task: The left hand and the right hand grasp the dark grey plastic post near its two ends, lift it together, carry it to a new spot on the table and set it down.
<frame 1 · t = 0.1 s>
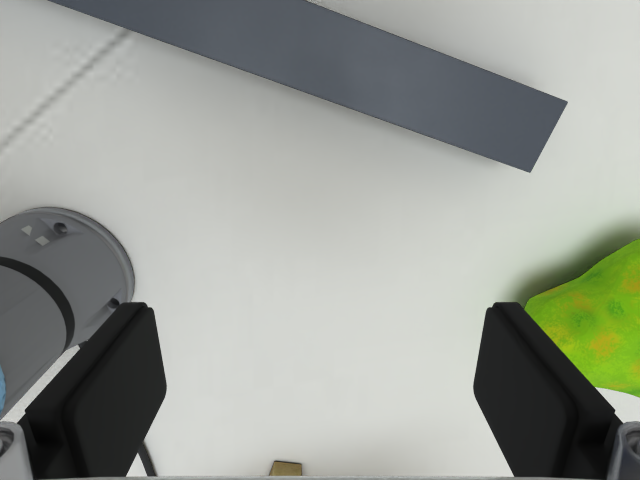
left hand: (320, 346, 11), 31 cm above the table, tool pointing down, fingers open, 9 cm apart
decorative tree: (632, 291, 46), on the table
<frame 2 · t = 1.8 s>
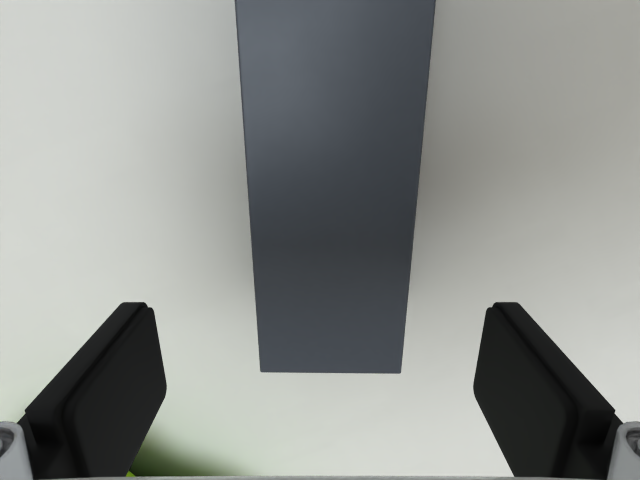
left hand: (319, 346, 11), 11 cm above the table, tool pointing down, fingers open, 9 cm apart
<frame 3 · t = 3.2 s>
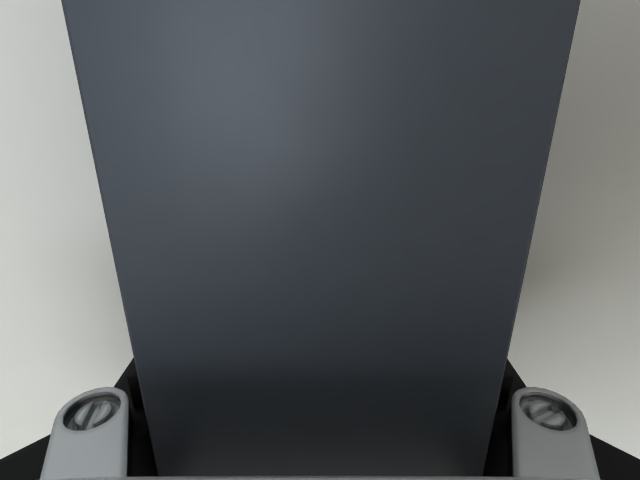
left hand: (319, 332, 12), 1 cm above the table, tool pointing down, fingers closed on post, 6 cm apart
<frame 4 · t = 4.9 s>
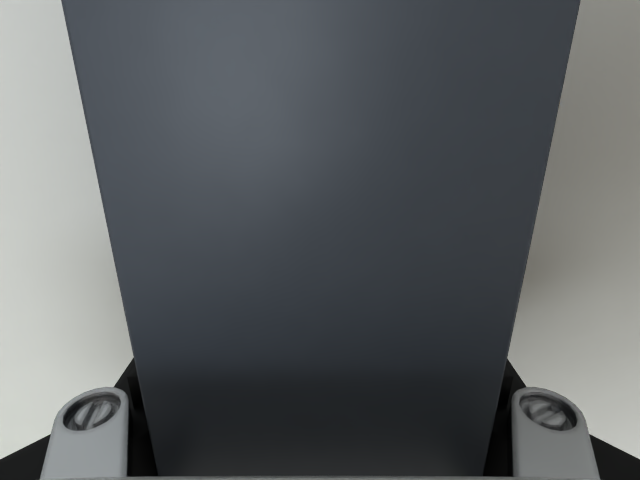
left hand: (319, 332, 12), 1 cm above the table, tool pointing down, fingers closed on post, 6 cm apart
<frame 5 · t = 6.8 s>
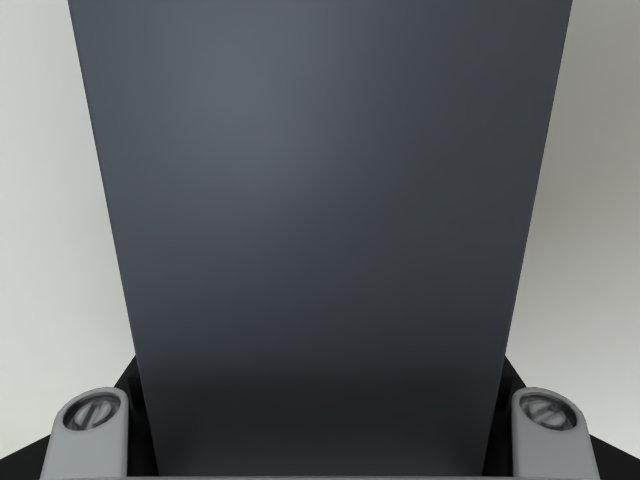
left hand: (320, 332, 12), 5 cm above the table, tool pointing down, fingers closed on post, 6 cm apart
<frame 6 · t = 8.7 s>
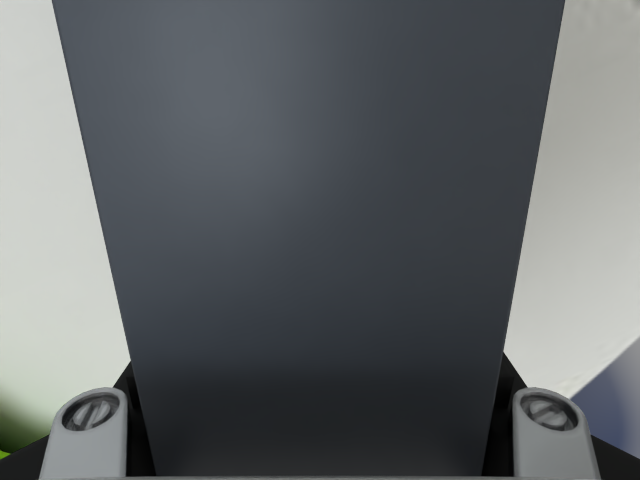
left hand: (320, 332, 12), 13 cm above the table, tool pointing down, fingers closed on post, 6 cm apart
when the right hand's fingers open (1 cm above the table, at t = 11.0 s): post stays where it is, on the table.
when the left hand's fingers open (3 cm above the table, at t = 11.2 s): post stays where it is, on the table.
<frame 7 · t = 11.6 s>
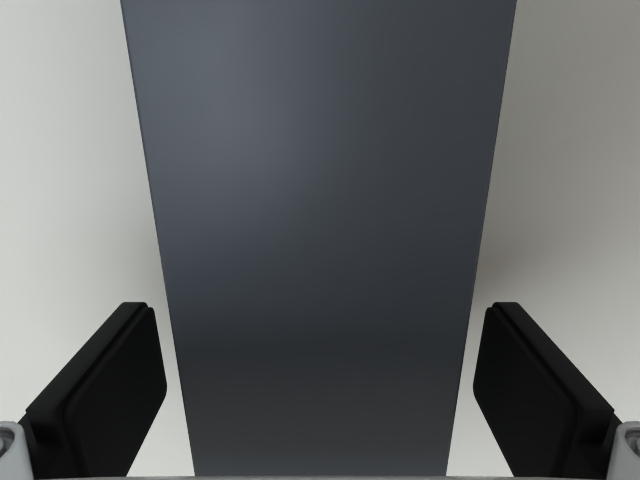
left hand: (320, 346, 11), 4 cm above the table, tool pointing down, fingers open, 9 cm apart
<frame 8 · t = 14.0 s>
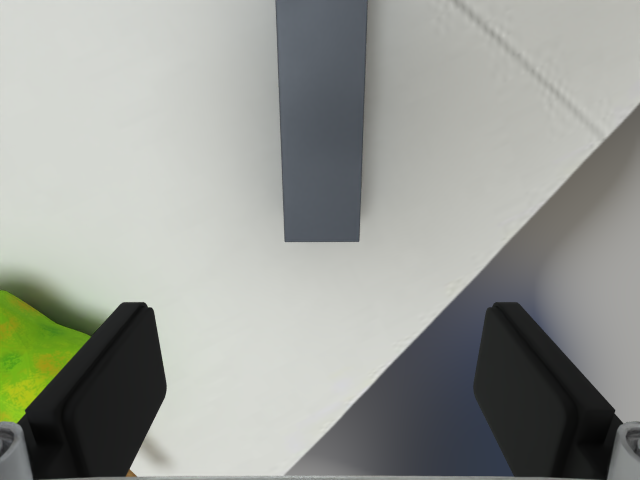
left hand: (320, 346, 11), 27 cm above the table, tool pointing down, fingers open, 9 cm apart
decorative tree: (84, 377, 46), on the table
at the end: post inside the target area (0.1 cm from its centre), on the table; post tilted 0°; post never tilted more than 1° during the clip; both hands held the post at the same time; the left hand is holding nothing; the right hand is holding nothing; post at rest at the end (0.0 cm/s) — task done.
